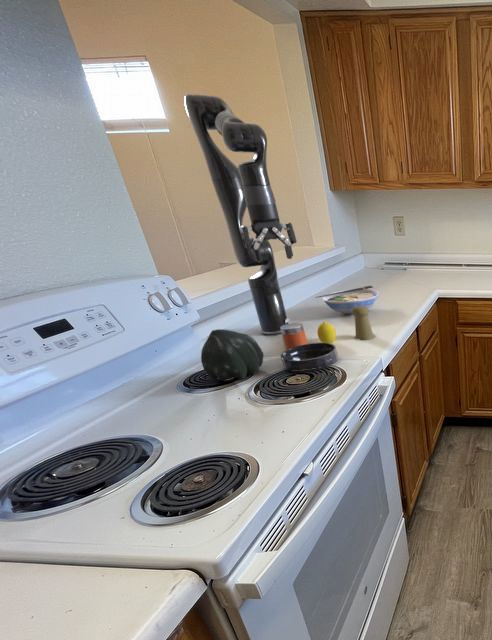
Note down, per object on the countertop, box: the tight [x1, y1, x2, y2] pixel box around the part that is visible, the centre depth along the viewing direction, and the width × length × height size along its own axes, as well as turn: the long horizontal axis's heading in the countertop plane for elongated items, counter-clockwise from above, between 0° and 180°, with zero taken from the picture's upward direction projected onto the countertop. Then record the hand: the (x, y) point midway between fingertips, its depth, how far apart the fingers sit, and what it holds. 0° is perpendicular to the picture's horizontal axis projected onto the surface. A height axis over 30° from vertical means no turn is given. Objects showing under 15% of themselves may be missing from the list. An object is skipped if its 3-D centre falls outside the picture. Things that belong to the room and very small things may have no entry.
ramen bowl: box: [315, 285, 380, 315], centre depth 175 cm, size 25×23×8 cm
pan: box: [280, 342, 339, 373], centre depth 123 cm, size 15×15×4 cm
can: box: [280, 322, 308, 351], centre depth 131 cm, size 6×6×9 cm
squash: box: [200, 328, 264, 382], centre depth 115 cm, size 14×15×15 cm
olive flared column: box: [352, 306, 375, 341], centre depth 143 cm, size 6×6×11 cm
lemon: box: [316, 321, 337, 344], centre depth 137 cm, size 6×6×8 cm
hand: (275, 260), depth 127 cm, fingers open, 8 cm apart
